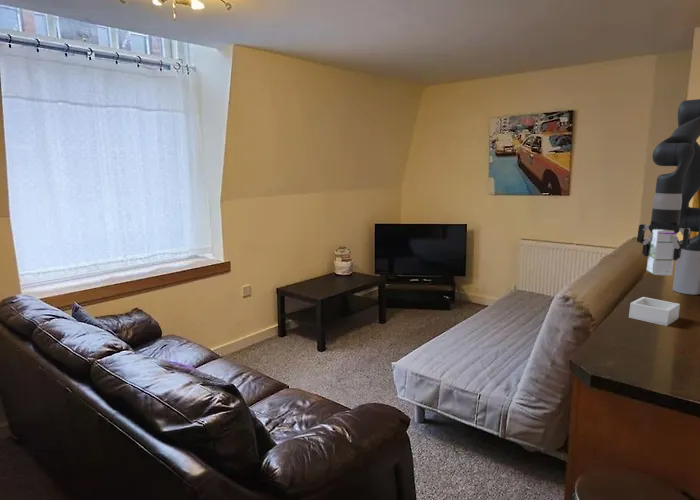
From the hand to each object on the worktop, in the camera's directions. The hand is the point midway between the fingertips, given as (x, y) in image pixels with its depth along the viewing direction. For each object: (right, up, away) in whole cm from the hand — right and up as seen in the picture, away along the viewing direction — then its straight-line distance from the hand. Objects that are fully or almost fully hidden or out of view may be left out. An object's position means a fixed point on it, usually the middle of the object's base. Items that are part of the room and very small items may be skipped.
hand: (660, 258), depth 151 cm
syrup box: (0, -5, +1) cm, 5 cm away
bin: (0, -20, +4) cm, 20 cm away
